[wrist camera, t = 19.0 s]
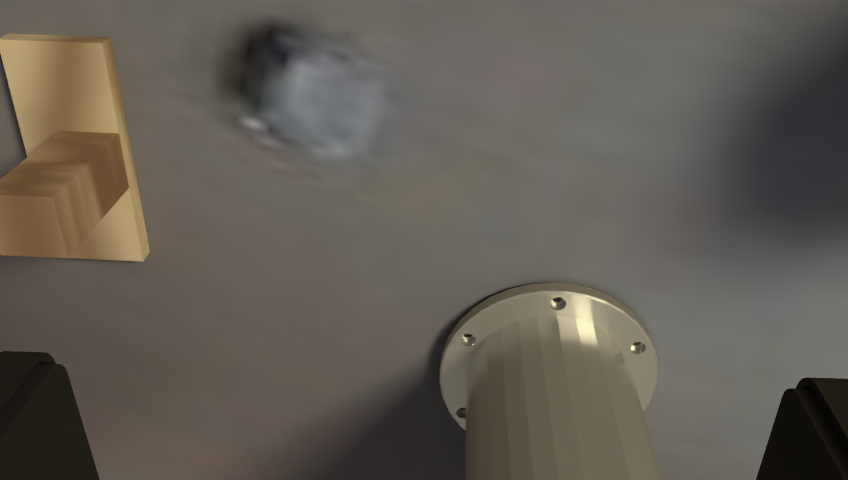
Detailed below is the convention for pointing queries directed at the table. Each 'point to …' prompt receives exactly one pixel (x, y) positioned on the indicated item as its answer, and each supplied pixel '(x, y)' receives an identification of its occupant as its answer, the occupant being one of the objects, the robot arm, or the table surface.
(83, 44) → the tan l-shaped bookend
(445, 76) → the table surface
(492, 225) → the table surface
